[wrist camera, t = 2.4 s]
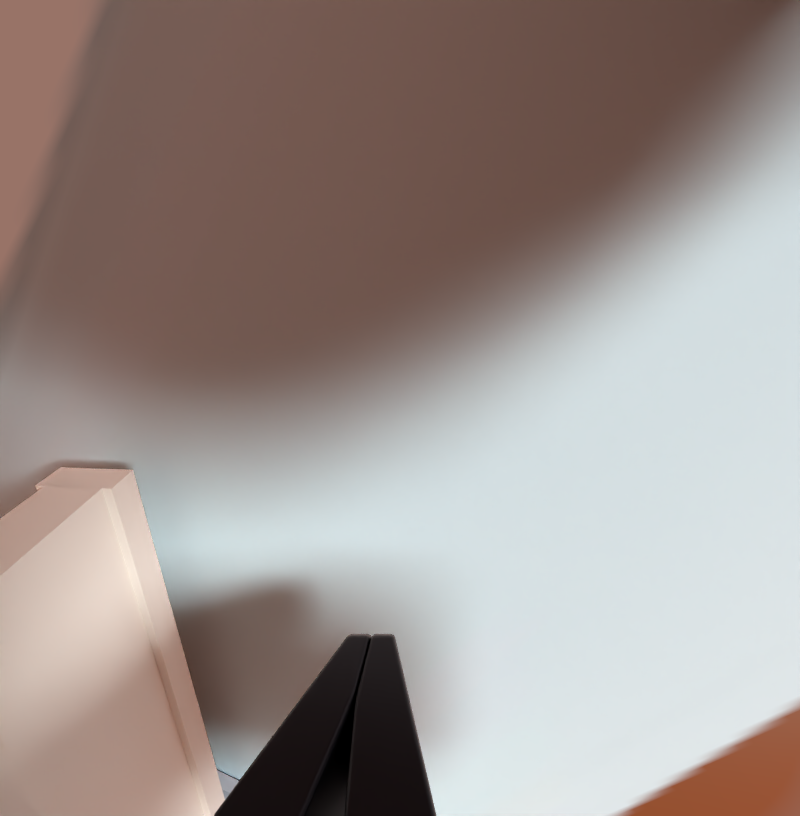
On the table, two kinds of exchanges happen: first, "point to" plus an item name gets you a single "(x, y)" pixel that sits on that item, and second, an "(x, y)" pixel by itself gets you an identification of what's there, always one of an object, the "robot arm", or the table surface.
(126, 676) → the gate
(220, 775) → the gate frame
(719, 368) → the table surface
